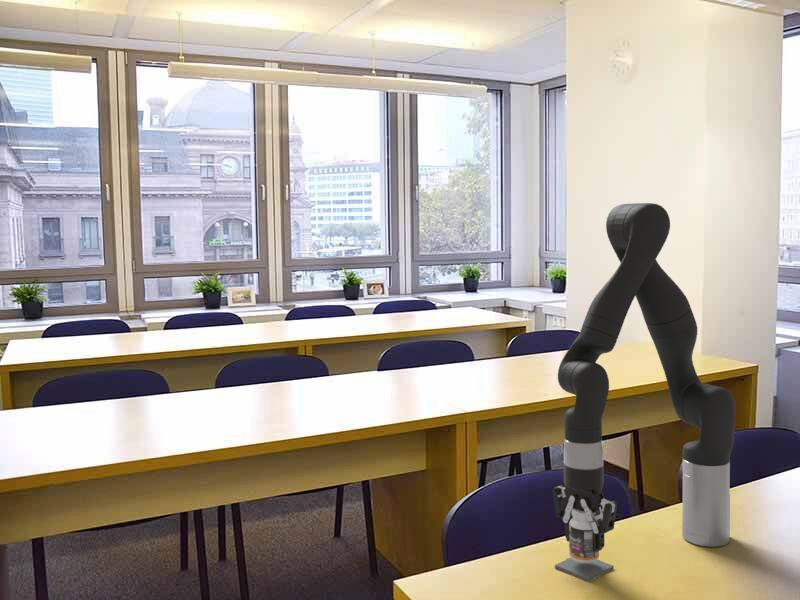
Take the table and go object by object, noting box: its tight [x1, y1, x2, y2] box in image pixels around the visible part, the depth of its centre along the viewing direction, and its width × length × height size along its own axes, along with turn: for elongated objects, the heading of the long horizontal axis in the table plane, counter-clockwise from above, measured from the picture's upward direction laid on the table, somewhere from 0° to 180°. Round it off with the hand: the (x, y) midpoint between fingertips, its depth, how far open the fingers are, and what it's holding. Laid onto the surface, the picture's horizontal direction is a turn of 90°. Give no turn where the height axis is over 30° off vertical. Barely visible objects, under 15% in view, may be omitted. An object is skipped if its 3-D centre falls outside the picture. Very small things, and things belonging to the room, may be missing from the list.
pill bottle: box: [568, 508, 600, 563], centre depth 146 cm, size 6×6×10 cm
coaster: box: [554, 557, 615, 582], centre depth 146 cm, size 8×8×1 cm
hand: (584, 545), depth 146 cm, fingers closed on pill bottle, 5 cm apart
